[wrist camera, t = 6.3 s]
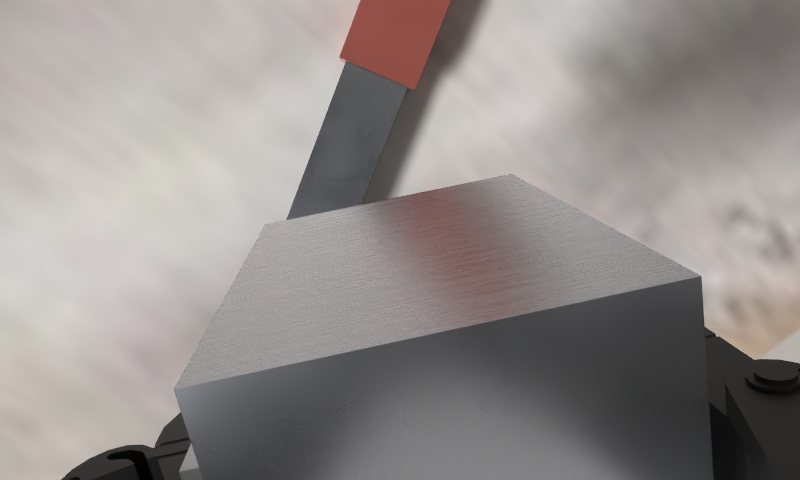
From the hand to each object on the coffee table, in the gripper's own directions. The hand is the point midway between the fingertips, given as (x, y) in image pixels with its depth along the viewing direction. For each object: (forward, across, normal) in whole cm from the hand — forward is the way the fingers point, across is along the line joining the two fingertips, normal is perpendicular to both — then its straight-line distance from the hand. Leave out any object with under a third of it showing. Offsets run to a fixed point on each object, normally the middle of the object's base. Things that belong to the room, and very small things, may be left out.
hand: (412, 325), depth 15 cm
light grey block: (0, 0, 0) cm, 0 cm away
